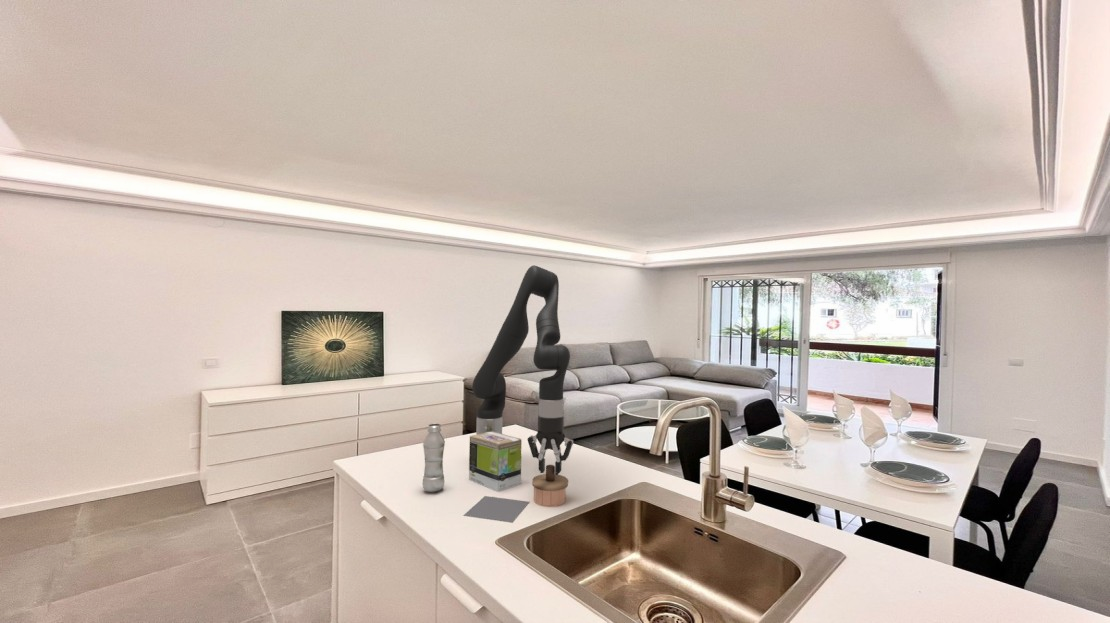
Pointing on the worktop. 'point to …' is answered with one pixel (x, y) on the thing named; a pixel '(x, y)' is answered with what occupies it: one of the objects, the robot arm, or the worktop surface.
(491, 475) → the tea box
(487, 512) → the mat
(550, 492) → the bowl
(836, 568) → the worktop surface
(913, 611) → the worktop surface
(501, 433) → the robot arm
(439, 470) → the plastic bottle
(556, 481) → the lid
